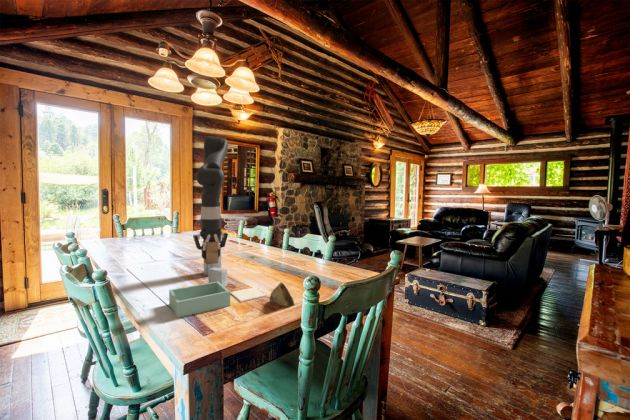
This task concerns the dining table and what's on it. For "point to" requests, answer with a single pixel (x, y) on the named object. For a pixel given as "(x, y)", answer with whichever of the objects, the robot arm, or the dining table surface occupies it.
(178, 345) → the dining table surface
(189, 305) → the box frame
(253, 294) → the plate
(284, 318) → the dining table surface
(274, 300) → the rock
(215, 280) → the medicine box
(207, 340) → the dining table surface
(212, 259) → the oak block
